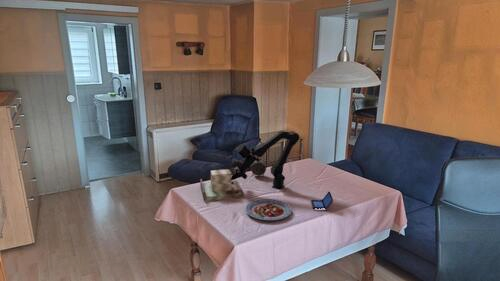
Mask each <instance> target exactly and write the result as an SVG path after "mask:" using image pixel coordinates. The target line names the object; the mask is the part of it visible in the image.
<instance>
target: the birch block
mask: <svg viewBox="0 0 500 281" xmlns="http://www.w3.org/2000/svg"><path fill="white" fill-rule="evenodd" d="M230 170H231V169H216V170H215V169H214V170H210V183H211V188H212V192H213V191H225V190H231V177H232V172H231V171H230Z"/></svg>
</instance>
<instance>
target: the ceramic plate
mask: <svg viewBox="0 0 500 281" xmlns="http://www.w3.org/2000/svg"><path fill="white" fill-rule="evenodd" d="M244 209H245V212H246V213H247V215H248V216H250V217H253V218H254V219H257V220H263V221H278V220H282V219H285V218H287V217H289V216H290V215H291V213H292V207H291V206H290V205H289V204H288V203H287V202H285V201H282V200H279V199H272V198H260V199H255V200H252V201H250V202H248V203H247V204H246V205H245V208H244Z"/></svg>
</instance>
